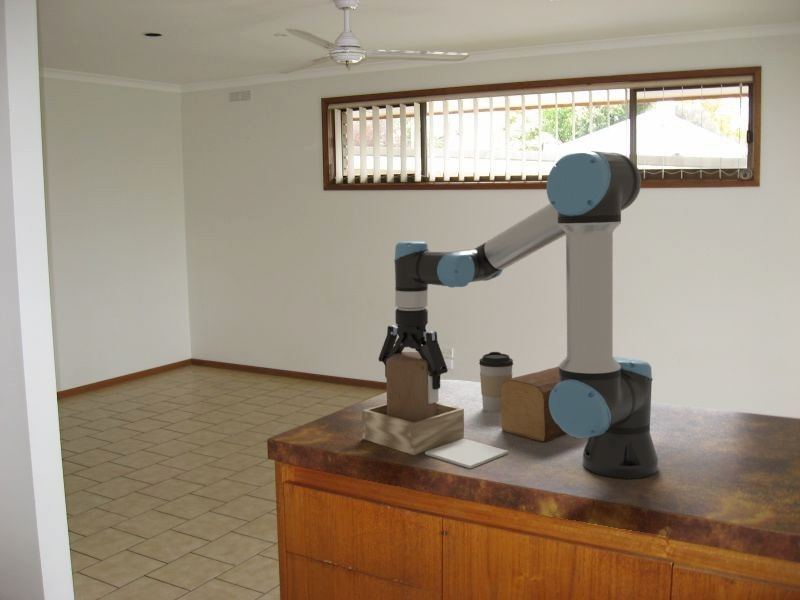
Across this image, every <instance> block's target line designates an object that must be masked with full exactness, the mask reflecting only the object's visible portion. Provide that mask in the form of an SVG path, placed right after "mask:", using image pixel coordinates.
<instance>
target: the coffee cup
mask: <svg viewBox="0 0 800 600" xmlns="http://www.w3.org/2000/svg"><path fill="white" fill-rule="evenodd" d="M478 364H479V367H480V368H479V369H480V370H479V371H480V373H479V377H480V378H479V379H480V391H481V399H482V400H481V401H482V410H483V411H485V412H489V413H501V387H502V383H503V382H505V381H507V380H509V379H511V378H513V365H514V359H513V358H511V357H510V356H509V354H505V353H502V352H499V351H491V352H489V353H486V354H484V355H482V357H481V358H479V362H478Z"/></svg>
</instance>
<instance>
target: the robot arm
mask: <svg viewBox="0 0 800 600" xmlns="http://www.w3.org/2000/svg"><path fill="white" fill-rule="evenodd" d="M641 187H642V175H641V173H640V170H639V168H638V166H637V165H636V164H635V162H634V161H633V160H632V159H630V157H628V156H626V155H624V154H621V153H619V152H603V151H598V150H581V151H573V152H570V153H568V154H565V155H563V156H562V157H560V159H559V160H557V161H556V163H555V164H554V165H553V166H552V168H551V170H550V171H549V174H548V176H547V180H546V194H547V199H548V201H549V203H548V204H546V205H545V206H543V207H542V208H540V209H538V210H537V211H535V212H533V213H532V214H530V215H528V216H526V217H525V218H524V219H522V220H519V221H518V222H517V223H515V224H513V225H512V226H510V227H508V228H507V229H505V230H504V231H502V232H500V233H499V234H497V235H495V236H493V237H492V238H490V239H488V240H486V241H485V242H484V243H482V244H480V245H478V246H477V247H475V248H471V249H463V250H462V249H461V250H453V251H431V250H429V248H428V247H429V246H428V243H427V242H426V241H419V240H418V241H417V240H409V241H408V240H407V241H406V240H405V241H404V240H403V241H398V242H397V243H396V245H395V251H394V259H393V260H394V271H395V272H394V274H395V277H394V278H395V279H394V281H395V288H394V289H395V293H394V295H395V296H394V297H395V298H394V299H395V301H394V302H395V304H394V305H395V307H396V309H395V313H394V314H395V317H394V318H395V324H391V325H388V326H387V333H386V337H385V340H384V342H383V345H382V348H381V349H380V354H379V355H378V361H379V362H381V363H382V364H383V365H384V375H385V378H386V362H387V359H389V358H390V357H391V356H393V355H394V354H396V353H400V352H404V349H405V348H410V349H412V350H413V349H415V350H414V351H415V352H419V354H420V356H421V357H422V359H425V360H426V361H427V363H428V370H429V372H430V375H428V403H429V404H432V403H435V402H438V403H439V389H441V375H442V374H443V375H444V374H445V373H448V366H447V365H446V361H445V359H444V355H443V353H442V350H441V348H440V344H439V342H438V334H437V333H438V332H437V331H436V330H432V331H427V329H426V327H427V325H428V323H429V321H428V320H429V317H428V316H429V315H428V314H429V310H428V309H427V307H428V297H429V296H428V294H429V293H428V290H429V289H428V288H429V287H428V286H429V285H433V286H442V287H443V286H444V287H448V288H464V287H467V286H468V285H469V284H470V283H475V282H484V281H485V282H487V281H489V280H492V279H495V278H498V277H499V276H500V275H502V272H503V271H504V270H505V269H506V268H509V267H510V266H512V265H515V263H518V262H520V261H521V260H522V259H525V258H527V257H528V256H530V255H532V254H534V253H535V252H537V251H539V250H541V249H542V248H544V247H546V246H549V245H550V244H552V243H554V242H556V241H557V240H559V239H561V238H562V237H564V236H565V249H566V251H565V252H566V253H565V256H566V259H565V260H566V262H565V263H566V264H565V266H566V277H565V278H566V280H565V283H566V284H565V285H566V357H565V358H564V359H563V360H562V361H561V362H560V363H559V364H558V366H559V383H558V384H557V385H556V386H555V387H554V389H553V390H552V391H551V393H550V397H549V409H550V413H551V415H552V418H553V419H554V421H555V423H556V424H558V425H559V427H560V428H561V429H562V430H563V431H564V432H566V433H567V434H566V435H569V436H572V437H574V438H578V439H587V442H586V444H585V446H584V450H583V451H582V452H583V453H582V465H583V467H584V468H586V469H587V470H588V471H590V472H593V473H595V474H598V475H601V476H605V477H609V478H615V479H641V478H646V477H647V478H648V477H651V476H653V475H654V474H656V473H657V471H658V469H659V467H658V466H659V464H658V463H659V462H658V461H659V459H658V455H657V451H656V448H655V445H654V441H653V439H652V435H651V411H652V384H653V383H652V381H653V375H652V374H653V373H652V366H651V364H650V363H649V362H648V361H644V360H640V359H635V358H629V357H628V358H627V357H620V356H619V357H618V356H617V357H616V356H613V355H614V354H613V351H614V349H613V345H614V344H613V343H614V342H613V338H614V335H613V327H614V325H613V317H614V315H613V312H614V311H613V309H614V308H613V306H614V305H613V304H614V303H613V301H614V300H613V298H614V297H613V296H614V295H613V290H614V289H613V287H614V286H613V284H614V283H613V282H614V281H613V280H614V279H613V277H614V276H613V275H614V273H613V271H614V270H613V261H614V259H613V258H614V257H613V255H614V253H613V251H614V250H613V249H614V248H613V243H614V242H613V241H614V240H613V235H614V234H613V233H614V231H615V230H616V229H617V228H618V226H620V224H622V211H624V210H626V209H627V208H629V207H630V206H631V205H633V203H634V202H635V201H636V199H637V198H638V196H639V194H640V190H641ZM434 369H435V370H434Z"/></svg>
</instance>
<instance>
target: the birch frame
mask: <svg viewBox="0 0 800 600" xmlns="http://www.w3.org/2000/svg"><path fill="white" fill-rule="evenodd" d="M361 416H362V417H361V418H362V421H361V422H362V423H361V424H362V440H365V441H368V442H372V443H375V444H377V445H381V446H384V447H387V448H390V449H394V450H397V451H400V452H403V453H406V454H409V455H412V456H416V455H419V454H421V453H425V452H426V451H429V450H432V449H435V448H438V447H440V446H443V445H446V444H449V443H452V442H454V441H457V440H460V439H463V438H464V439H465V409H464V408H462V407H458V406H454V405H449V404H445V403H441V402H439V401H438V402H436V416H434V417H430V418H427V419H424V420H421V421H418V422H414V423H413V422H409V421H406V420H402V419H398V418H395V417H391V416H388V415H387V402H386V403H383V404H380V405H376V406H373V407H368V408H366V409H362V410H361Z"/></svg>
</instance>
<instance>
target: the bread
mask: <svg viewBox="0 0 800 600" xmlns="http://www.w3.org/2000/svg"><path fill="white" fill-rule="evenodd" d="M558 383H559V365H558V366H556V367H551V368H548V369H544V370H540V371H536V372H532V373H527V374H524V375H520V376H515V377H512V378H511V379H509V380H507V381H505V382H503V383H502V387H501V412H500V420H501V421H500V424H501V430H502V431H503V432H505V433H509V434H511V435H512V434H513V435H517V436H519V437H523V438H527V439H531V440H534V441H538V442H540V443H546V442H549V441H551V440H554V439H557V438H560V437H563V436H566V435H568V434H567V433H566V432H564V431H563V430H562V429H561V428H560V427H559V425H558V424H556V423H555V421H554V419H553V418H552V415H551V413H550V409H549V397H550V393H551V391H552V390H553V389H554V387H555V386H556V385H557V384H558Z"/></svg>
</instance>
